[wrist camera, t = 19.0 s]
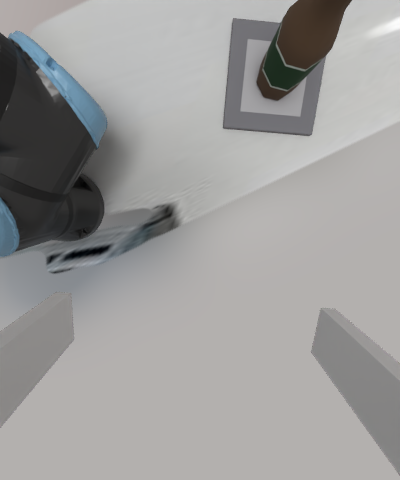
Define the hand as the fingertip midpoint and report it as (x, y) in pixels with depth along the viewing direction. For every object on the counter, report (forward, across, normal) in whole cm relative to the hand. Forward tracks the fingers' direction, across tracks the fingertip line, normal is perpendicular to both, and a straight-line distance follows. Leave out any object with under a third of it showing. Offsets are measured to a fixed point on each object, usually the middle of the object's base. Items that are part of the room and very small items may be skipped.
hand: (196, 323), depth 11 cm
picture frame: (+37, +13, +29) cm, 49 cm away
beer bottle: (+36, +13, +29) cm, 48 cm away
